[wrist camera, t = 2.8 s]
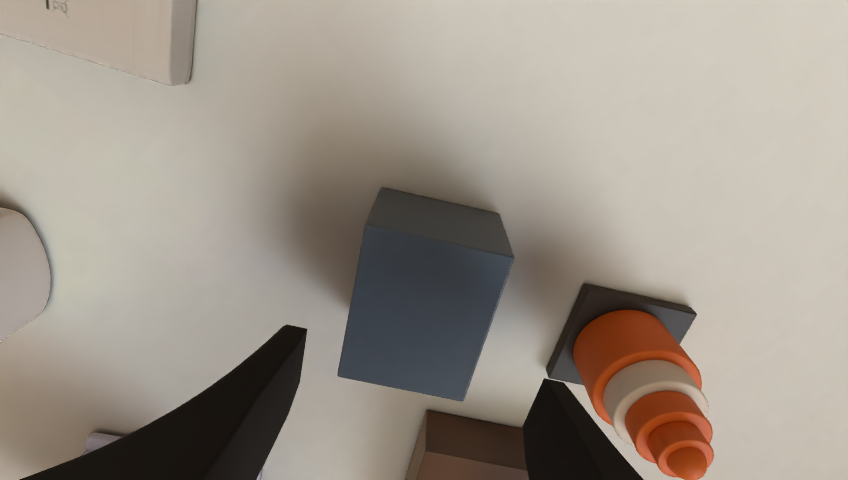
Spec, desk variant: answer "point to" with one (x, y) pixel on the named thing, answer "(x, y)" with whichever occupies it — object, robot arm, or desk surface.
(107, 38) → the hard drive
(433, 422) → the base block
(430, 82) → the desk surface
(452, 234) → the blue block
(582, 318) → the cone
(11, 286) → the eye dropper bottle
